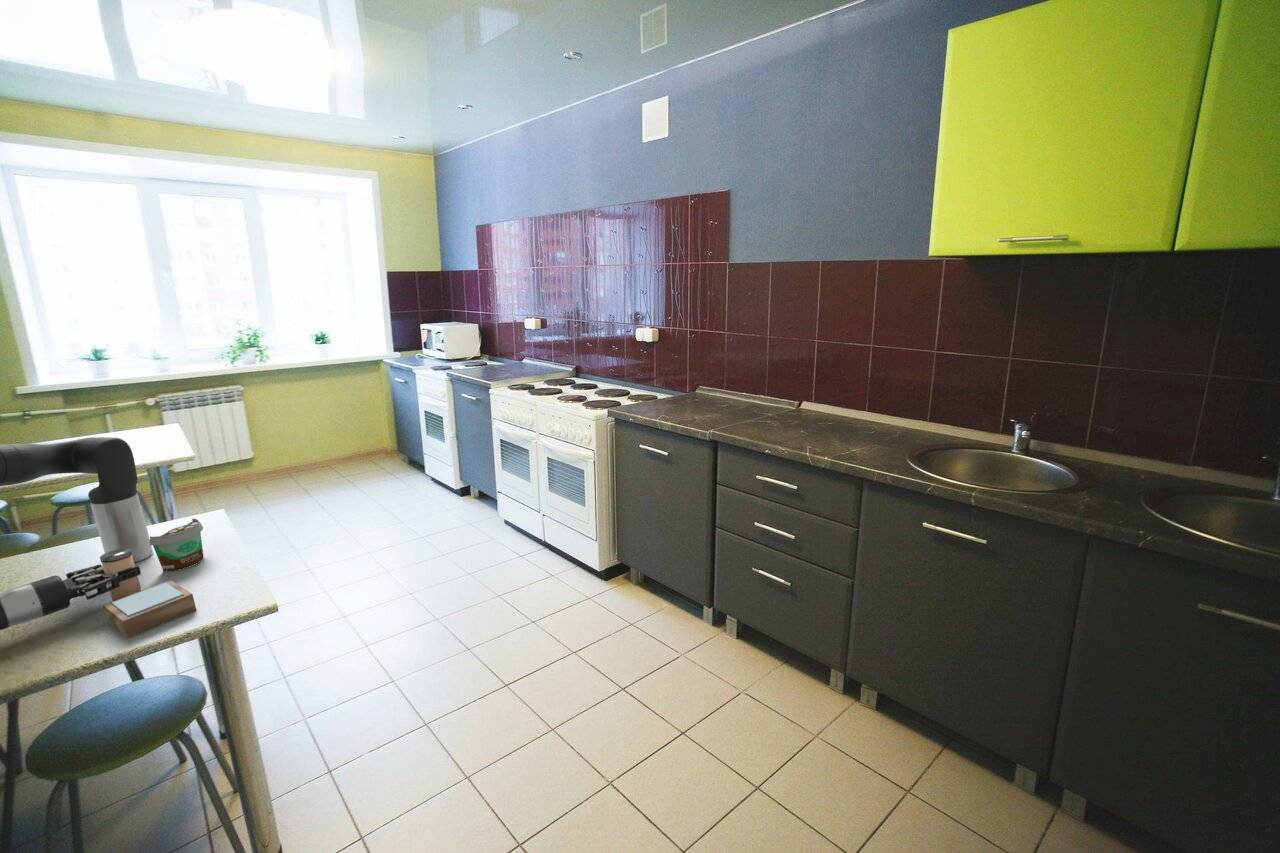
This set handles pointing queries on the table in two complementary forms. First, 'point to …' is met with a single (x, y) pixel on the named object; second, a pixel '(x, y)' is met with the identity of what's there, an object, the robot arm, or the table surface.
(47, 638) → the table surface
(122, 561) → the terracotta canister
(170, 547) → the food container
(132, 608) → the walnut riser
